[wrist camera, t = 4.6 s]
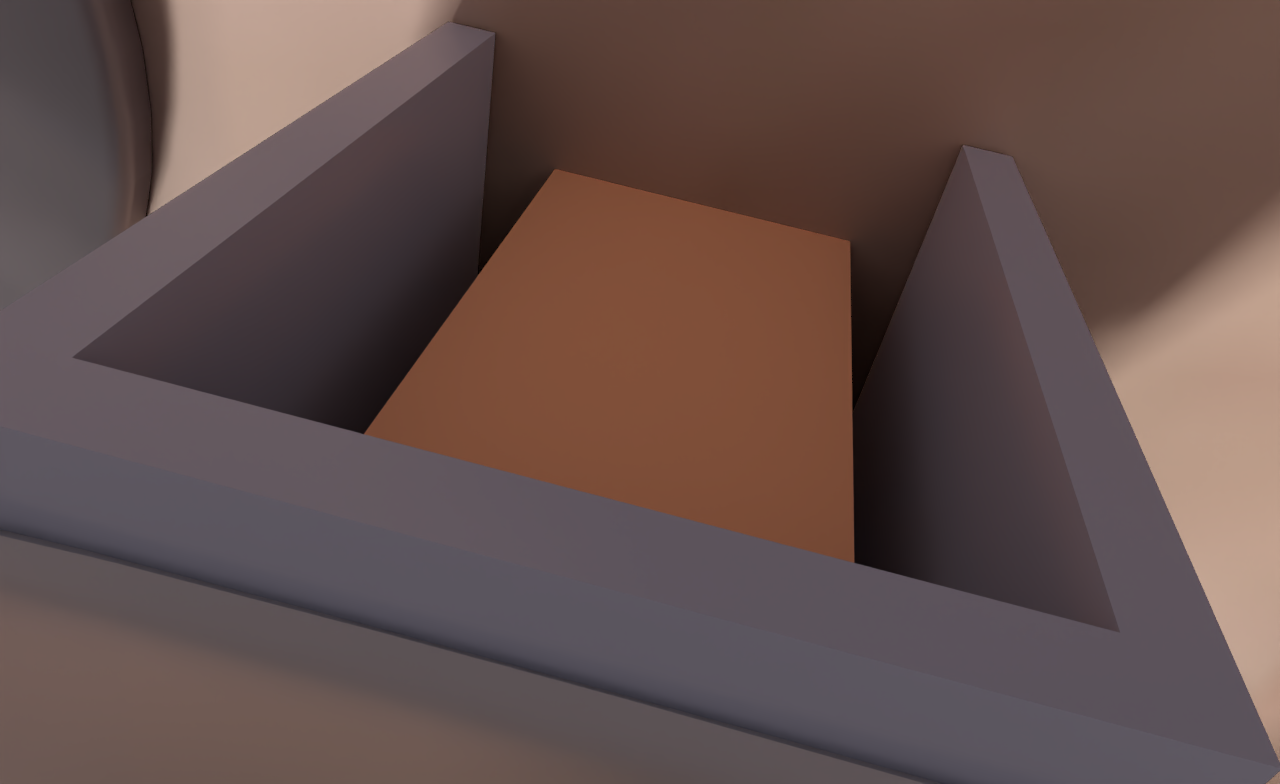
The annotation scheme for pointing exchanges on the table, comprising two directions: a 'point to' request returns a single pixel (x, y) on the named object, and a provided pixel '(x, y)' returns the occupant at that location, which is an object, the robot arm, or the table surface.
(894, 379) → the grey angular piece
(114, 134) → the charcoal dish
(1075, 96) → the table surface
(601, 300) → the terracotta block
